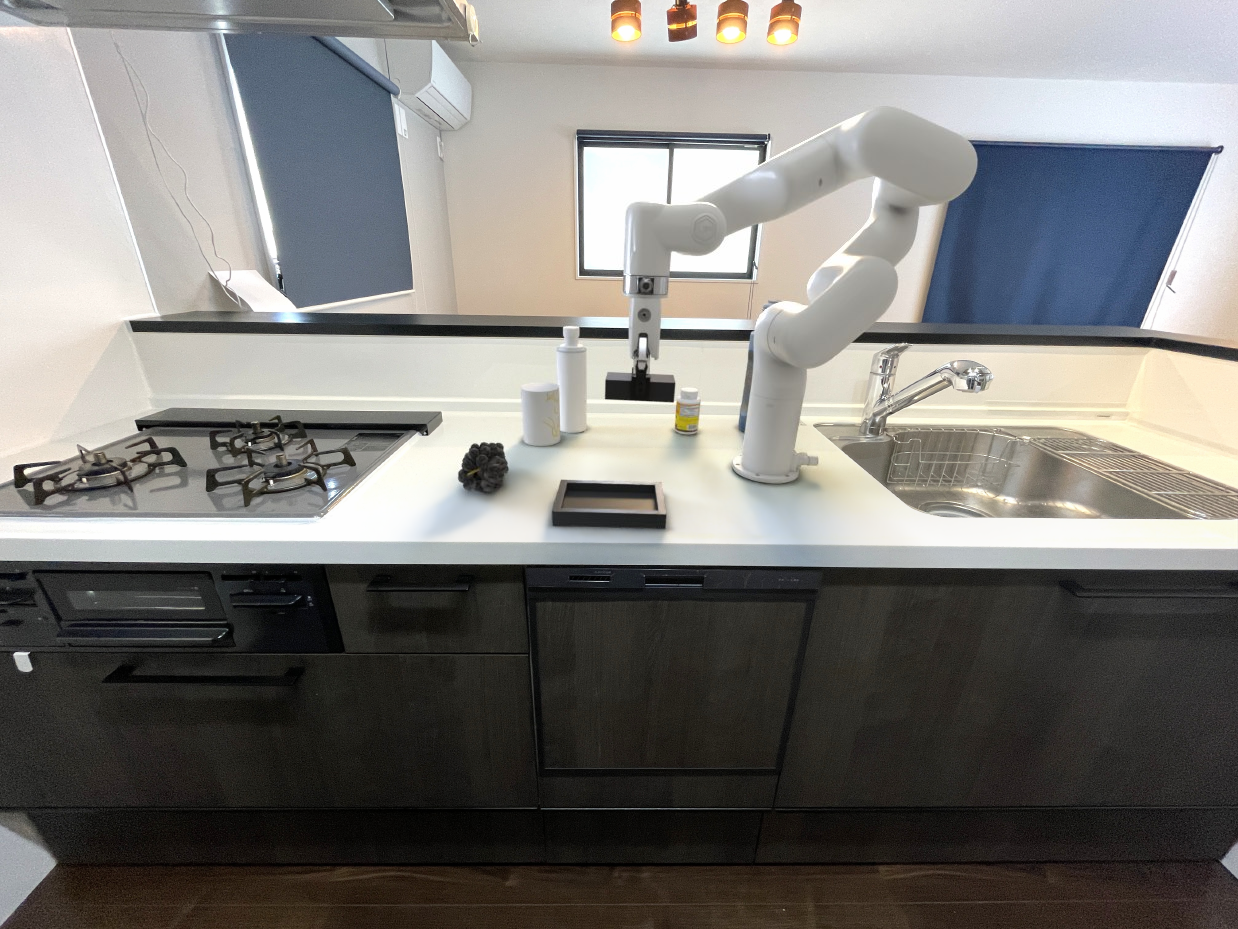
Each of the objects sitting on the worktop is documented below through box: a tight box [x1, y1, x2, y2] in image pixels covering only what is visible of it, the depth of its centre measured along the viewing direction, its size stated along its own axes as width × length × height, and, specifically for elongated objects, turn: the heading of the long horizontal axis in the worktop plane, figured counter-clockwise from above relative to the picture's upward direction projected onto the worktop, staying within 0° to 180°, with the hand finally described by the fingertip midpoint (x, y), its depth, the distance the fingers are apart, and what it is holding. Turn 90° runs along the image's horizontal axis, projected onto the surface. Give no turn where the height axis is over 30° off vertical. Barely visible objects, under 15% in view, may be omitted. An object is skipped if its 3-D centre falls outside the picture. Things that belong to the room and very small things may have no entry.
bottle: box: [737, 299, 789, 433], centre depth 114 cm, size 10×10×30 cm
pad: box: [604, 371, 676, 404], centre depth 87 cm, size 12×6×4 cm, turn 88°
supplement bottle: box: [674, 387, 702, 436], centre depth 115 cm, size 6×6×10 cm
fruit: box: [457, 441, 510, 493], centre depth 88 cm, size 9×8×15 cm
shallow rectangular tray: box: [551, 479, 667, 530], centre depth 80 cm, size 17×11×2 cm, turn 89°
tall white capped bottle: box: [556, 325, 588, 434], centre depth 112 cm, size 7×7×25 cm
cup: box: [520, 381, 561, 447], centre depth 107 cm, size 8×8×12 cm
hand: (639, 393), depth 88 cm, fingers closed on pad, 6 cm apart
